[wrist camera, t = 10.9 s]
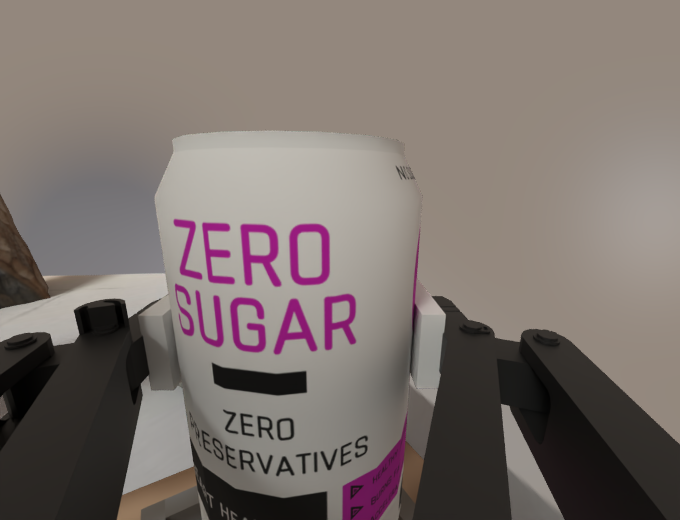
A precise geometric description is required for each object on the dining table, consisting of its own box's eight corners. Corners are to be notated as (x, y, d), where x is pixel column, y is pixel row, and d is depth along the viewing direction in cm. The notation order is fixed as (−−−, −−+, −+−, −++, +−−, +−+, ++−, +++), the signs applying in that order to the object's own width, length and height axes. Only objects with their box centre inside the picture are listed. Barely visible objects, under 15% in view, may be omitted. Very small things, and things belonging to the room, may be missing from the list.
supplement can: (355, 415, 19) (360, 155, 15) (439, 570, 12) (492, 136, 8) (212, 452, 17) (173, 150, 13) (200, 684, 9) (97, 115, 5)
